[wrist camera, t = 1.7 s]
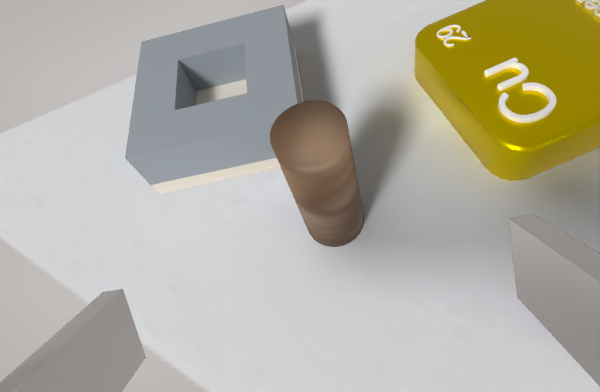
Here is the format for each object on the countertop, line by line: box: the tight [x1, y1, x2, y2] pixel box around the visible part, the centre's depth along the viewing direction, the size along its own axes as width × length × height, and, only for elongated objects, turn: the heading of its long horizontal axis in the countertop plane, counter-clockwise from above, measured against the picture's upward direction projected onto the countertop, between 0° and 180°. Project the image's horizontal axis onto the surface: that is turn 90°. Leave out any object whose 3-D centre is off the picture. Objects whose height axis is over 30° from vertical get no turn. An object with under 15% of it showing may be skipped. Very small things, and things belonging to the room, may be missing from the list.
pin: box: [270, 101, 364, 247], centre depth 28 cm, size 4×4×11 cm
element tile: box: [415, 0, 600, 181], centre depth 34 cm, size 15×15×5 cm
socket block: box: [125, 5, 304, 194], centre depth 38 cm, size 14×14×6 cm
